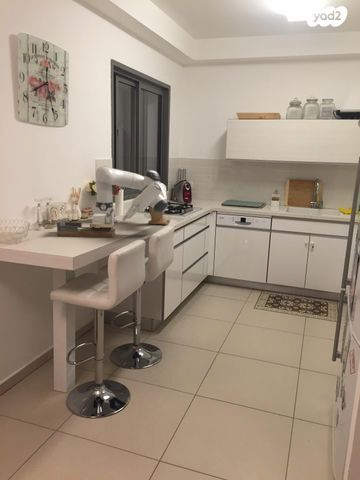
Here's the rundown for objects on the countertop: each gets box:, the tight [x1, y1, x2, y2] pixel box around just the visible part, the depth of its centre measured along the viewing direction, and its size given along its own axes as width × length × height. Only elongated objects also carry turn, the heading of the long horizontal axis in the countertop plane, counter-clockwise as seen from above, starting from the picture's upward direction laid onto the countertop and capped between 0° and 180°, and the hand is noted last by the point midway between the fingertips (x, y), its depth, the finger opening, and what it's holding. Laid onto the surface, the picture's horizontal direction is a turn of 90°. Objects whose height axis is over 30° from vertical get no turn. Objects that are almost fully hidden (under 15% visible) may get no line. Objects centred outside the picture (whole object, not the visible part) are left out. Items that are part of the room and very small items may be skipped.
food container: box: [99, 213, 116, 228], centre depth 265 cm, size 12×6×10 cm, turn 141°
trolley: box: [89, 208, 115, 230], centre depth 246 cm, size 10×13×12 cm
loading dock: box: [56, 218, 116, 239], centre depth 247 cm, size 15×32×8 cm, turn 93°
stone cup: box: [147, 205, 171, 226], centre depth 291 cm, size 15×12×15 cm
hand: (122, 220), depth 247 cm, fingers closed
